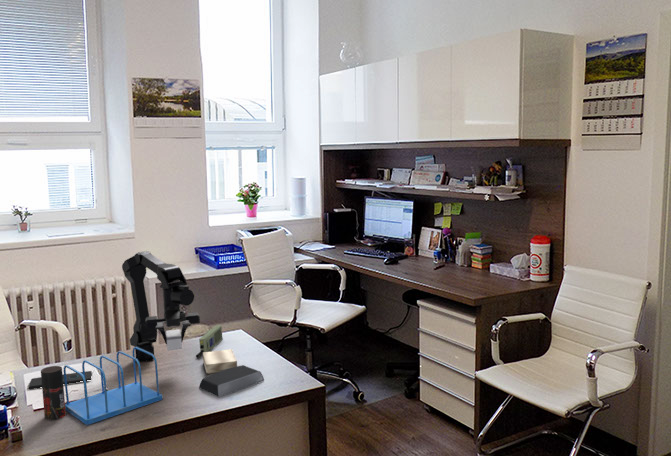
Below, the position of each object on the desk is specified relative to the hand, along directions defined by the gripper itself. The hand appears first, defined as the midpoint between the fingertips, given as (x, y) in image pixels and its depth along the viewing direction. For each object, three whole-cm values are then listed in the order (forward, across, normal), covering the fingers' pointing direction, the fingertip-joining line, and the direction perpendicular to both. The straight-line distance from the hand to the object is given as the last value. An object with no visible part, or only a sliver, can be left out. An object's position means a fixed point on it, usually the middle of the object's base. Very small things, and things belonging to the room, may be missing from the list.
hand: (174, 343), depth 223 cm
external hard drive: (+12, +18, -18) cm, 28 cm away
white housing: (+1, 0, 0) cm, 1 cm away
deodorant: (+11, -37, -26) cm, 47 cm away
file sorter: (+12, -20, -23) cm, 32 cm away
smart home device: (+12, -39, +5) cm, 41 cm away
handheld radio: (+12, +14, +23) cm, 30 cm away
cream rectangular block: (+11, +16, 0) cm, 19 cm away
